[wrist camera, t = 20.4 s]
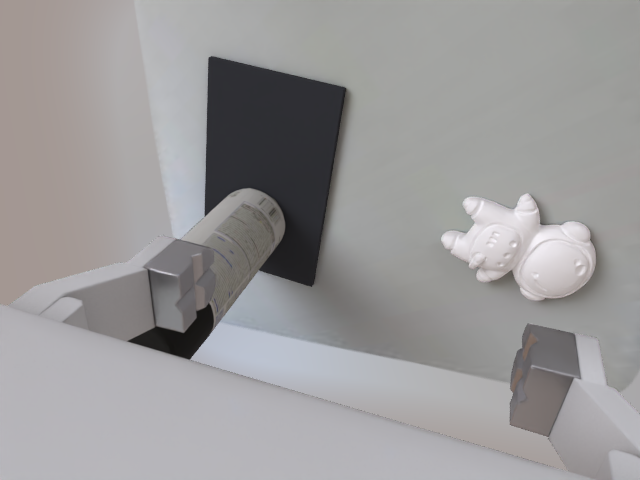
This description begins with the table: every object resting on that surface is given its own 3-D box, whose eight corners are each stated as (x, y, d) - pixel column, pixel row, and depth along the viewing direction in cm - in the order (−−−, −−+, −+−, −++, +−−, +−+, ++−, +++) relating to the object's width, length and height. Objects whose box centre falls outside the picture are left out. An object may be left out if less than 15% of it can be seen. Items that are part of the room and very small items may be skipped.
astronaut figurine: (486, 167, 42) (483, 182, 40) (619, 242, 42) (625, 262, 40) (429, 246, 47) (424, 263, 45) (548, 314, 47) (550, 335, 45)
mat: (211, 55, 45) (208, 57, 45) (346, 87, 43) (344, 89, 42) (206, 250, 56) (203, 253, 55) (313, 283, 54) (311, 287, 53)
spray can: (221, 180, 50) (76, 302, 34) (288, 191, 49) (169, 324, 32) (226, 241, 54) (96, 378, 37) (289, 253, 52) (182, 403, 36)
